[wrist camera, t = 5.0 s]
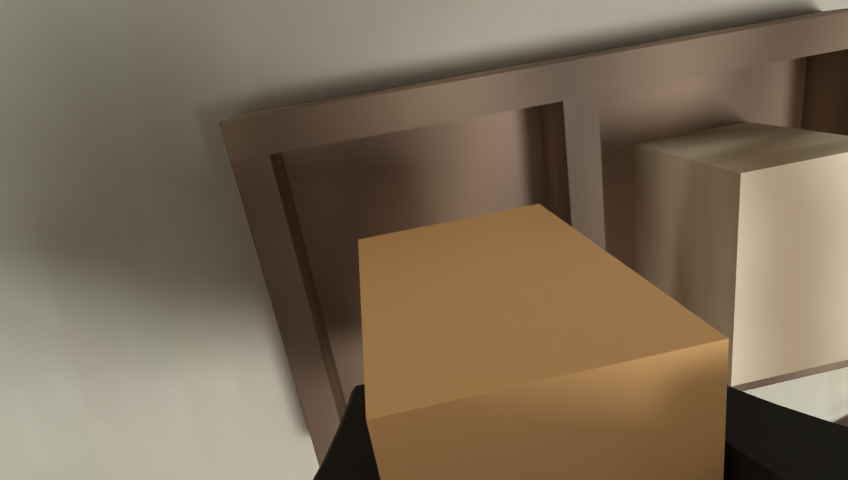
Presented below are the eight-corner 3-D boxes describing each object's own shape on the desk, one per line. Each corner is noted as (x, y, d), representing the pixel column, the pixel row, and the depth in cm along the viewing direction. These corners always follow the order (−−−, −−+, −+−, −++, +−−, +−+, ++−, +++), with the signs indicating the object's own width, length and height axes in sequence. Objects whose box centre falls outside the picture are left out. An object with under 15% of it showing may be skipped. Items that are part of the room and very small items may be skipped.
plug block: (539, 203, 11) (729, 339, 6) (559, 427, 13) (715, 693, 8) (357, 239, 11) (365, 419, 5) (406, 462, 13) (450, 766, 7)
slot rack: (823, 11, 17) (903, 2, 14) (794, 330, 21) (853, 365, 18) (240, 114, 16) (219, 123, 13) (328, 435, 20) (325, 487, 17)
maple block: (746, 121, 17) (895, 142, 12) (738, 284, 19) (864, 355, 14) (631, 143, 17) (741, 173, 12) (636, 306, 19) (731, 386, 14)
